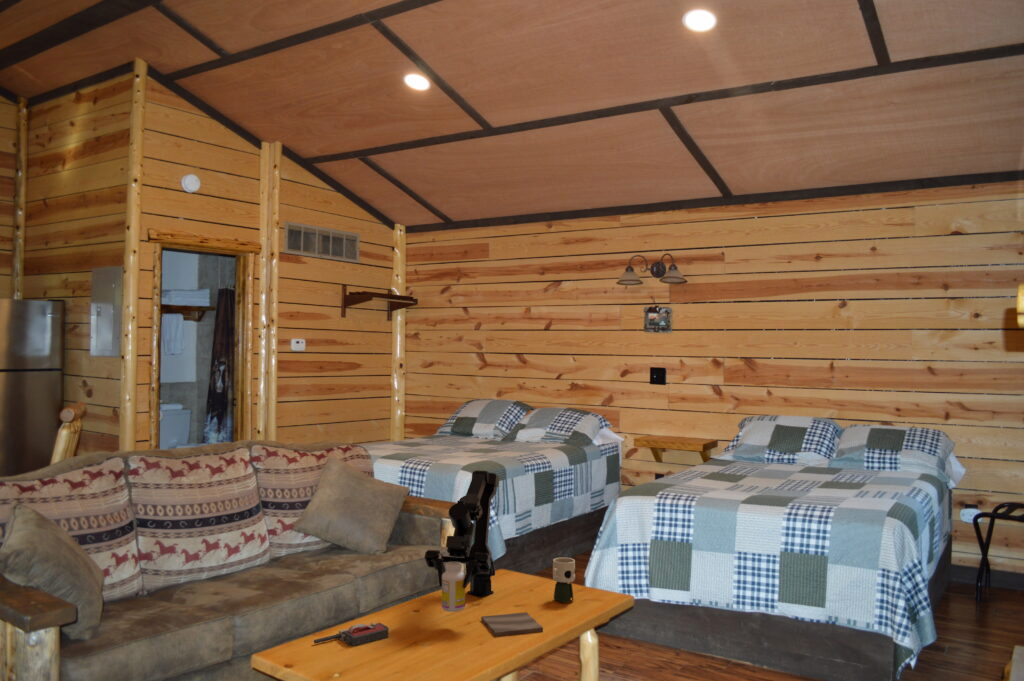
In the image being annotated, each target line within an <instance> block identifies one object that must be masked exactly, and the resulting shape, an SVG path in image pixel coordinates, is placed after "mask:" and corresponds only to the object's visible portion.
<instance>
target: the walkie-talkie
mask: <svg viewBox="0 0 1024 681" xmlns="http://www.w3.org/2000/svg"><path fill="white" fill-rule="evenodd" d="M389 630H390V629H389V627H388V626H387V625H385V624H384V623H381V622H378V623H377V622H376V623H374V622H370V624H369V625H367V624H365V623H359V624H356V625H351V626H350V627H349V628H347V629H346V628H345V629H343V630H338V633H335V634H334V635H329V636H326V637H321V638H317V639H314V640H313V643H314V644H320V643H324V642H327V641H328V642H329V641H332V640H335V639H337V640H339V639H340V640H339V641H340V642H344V643H345V644H346V645H347V646H351V647H353V646H355V647H359V646H362V645H365V644H370V643H373V642H376V641H382V640H386V639H389V634H390V632H389ZM358 645H359V646H358Z"/></svg>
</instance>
